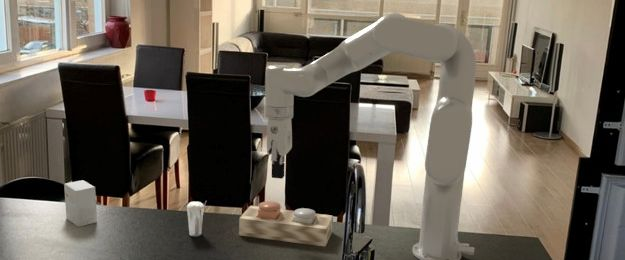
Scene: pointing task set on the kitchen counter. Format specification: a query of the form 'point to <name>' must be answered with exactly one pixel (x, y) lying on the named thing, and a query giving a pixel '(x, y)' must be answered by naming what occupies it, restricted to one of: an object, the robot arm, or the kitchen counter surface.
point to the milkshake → (195, 218)
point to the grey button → (304, 216)
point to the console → (286, 227)
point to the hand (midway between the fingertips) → (277, 177)
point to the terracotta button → (269, 210)
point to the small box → (80, 203)
